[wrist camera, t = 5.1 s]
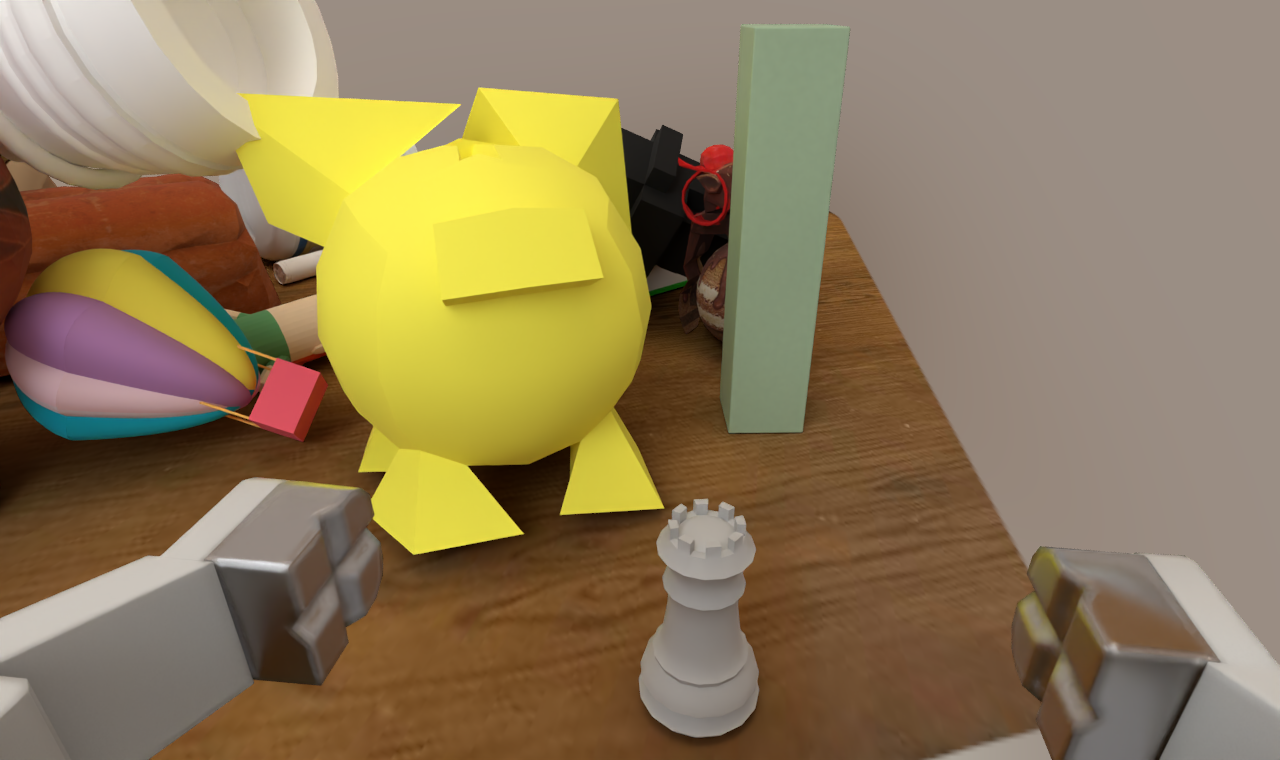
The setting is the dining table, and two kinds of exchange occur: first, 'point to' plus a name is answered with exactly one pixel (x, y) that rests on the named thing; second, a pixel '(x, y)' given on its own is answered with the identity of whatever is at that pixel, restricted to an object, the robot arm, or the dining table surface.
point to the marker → (296, 267)
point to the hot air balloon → (142, 353)
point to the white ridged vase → (149, 82)
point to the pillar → (778, 218)
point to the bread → (152, 235)
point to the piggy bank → (468, 293)
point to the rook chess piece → (701, 626)
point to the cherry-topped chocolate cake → (707, 243)
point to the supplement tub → (265, 235)
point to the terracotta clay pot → (12, 241)
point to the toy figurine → (282, 333)
